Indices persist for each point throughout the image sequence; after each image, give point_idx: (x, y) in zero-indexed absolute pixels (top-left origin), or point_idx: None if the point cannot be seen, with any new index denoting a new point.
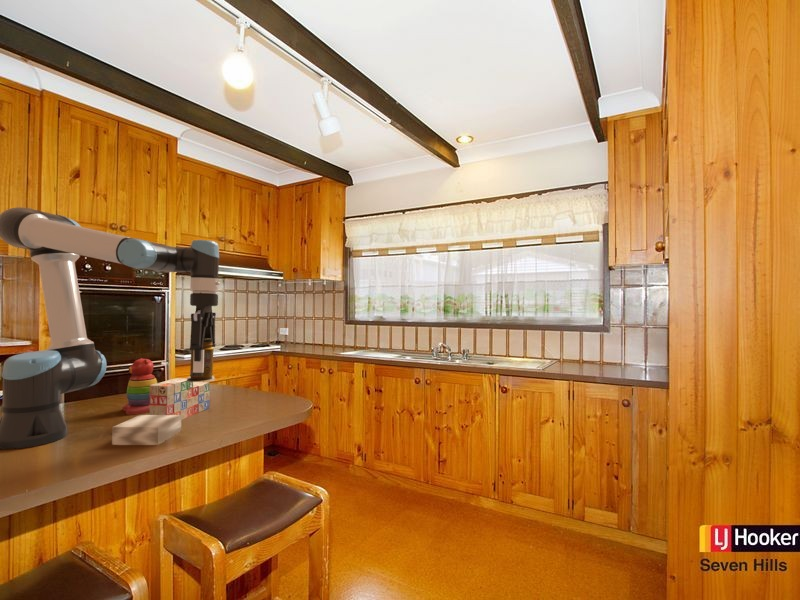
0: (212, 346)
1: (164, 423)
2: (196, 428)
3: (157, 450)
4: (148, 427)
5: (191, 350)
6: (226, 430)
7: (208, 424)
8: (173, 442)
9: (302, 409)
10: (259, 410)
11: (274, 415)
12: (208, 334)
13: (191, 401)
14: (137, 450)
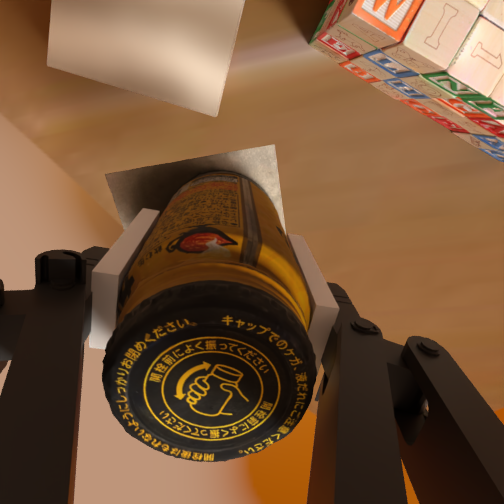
0: (321, 382)
1: (98, 77)
2: None
3: (19, 83)
4: (50, 24)
5: (168, 236)
6: None
7: None
8: (95, 116)
9: None
10: (392, 318)
11: None
12: (316, 466)
13: (447, 113)
14: (22, 14)
